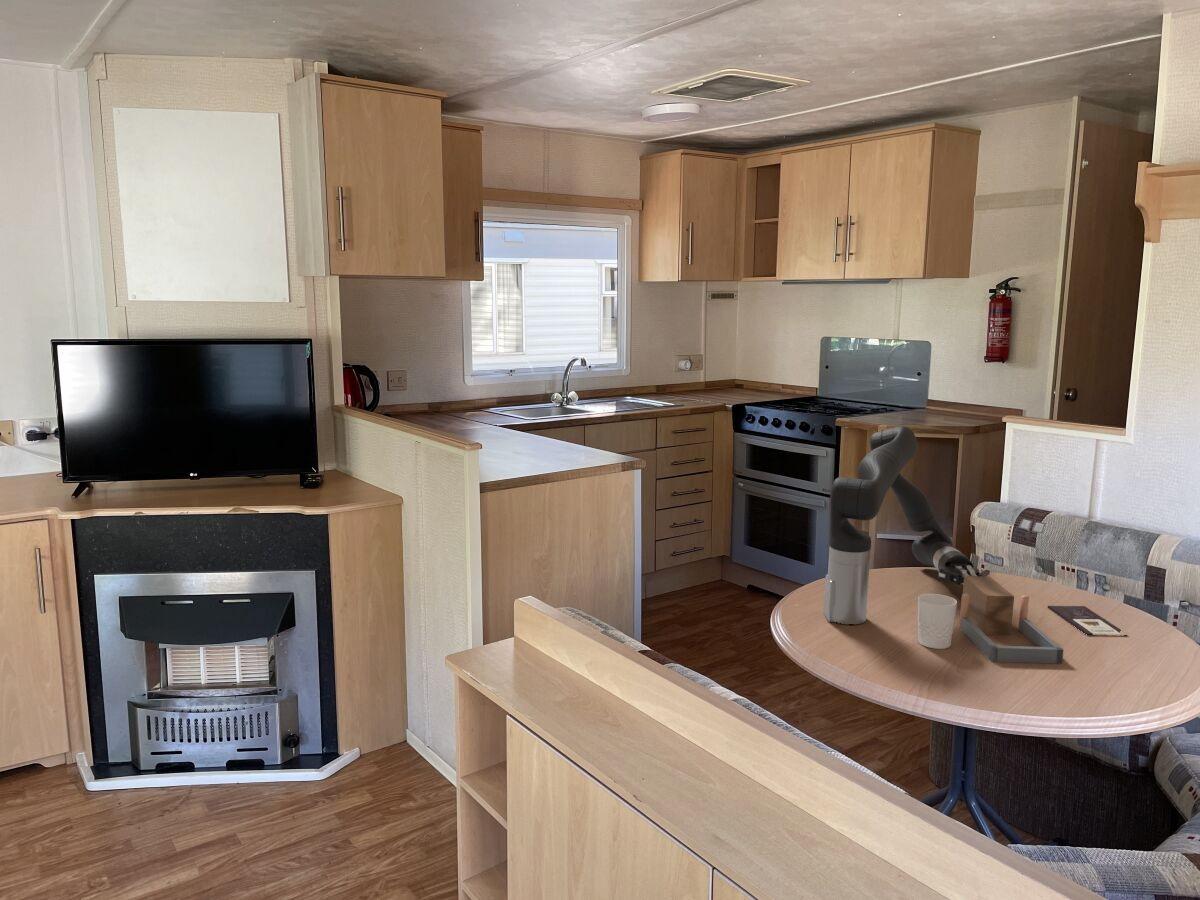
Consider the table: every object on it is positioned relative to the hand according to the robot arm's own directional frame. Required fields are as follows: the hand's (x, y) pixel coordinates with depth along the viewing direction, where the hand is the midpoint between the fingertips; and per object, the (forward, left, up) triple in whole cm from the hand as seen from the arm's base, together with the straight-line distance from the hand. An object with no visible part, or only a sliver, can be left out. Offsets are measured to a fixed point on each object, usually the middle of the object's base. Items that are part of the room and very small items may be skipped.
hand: (977, 586), depth 215 cm
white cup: (-16, -20, -7) cm, 27 cm away
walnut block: (0, -7, -7) cm, 10 cm away
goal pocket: (0, -19, -7) cm, 20 cm away
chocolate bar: (+24, -4, -7) cm, 25 cm away
